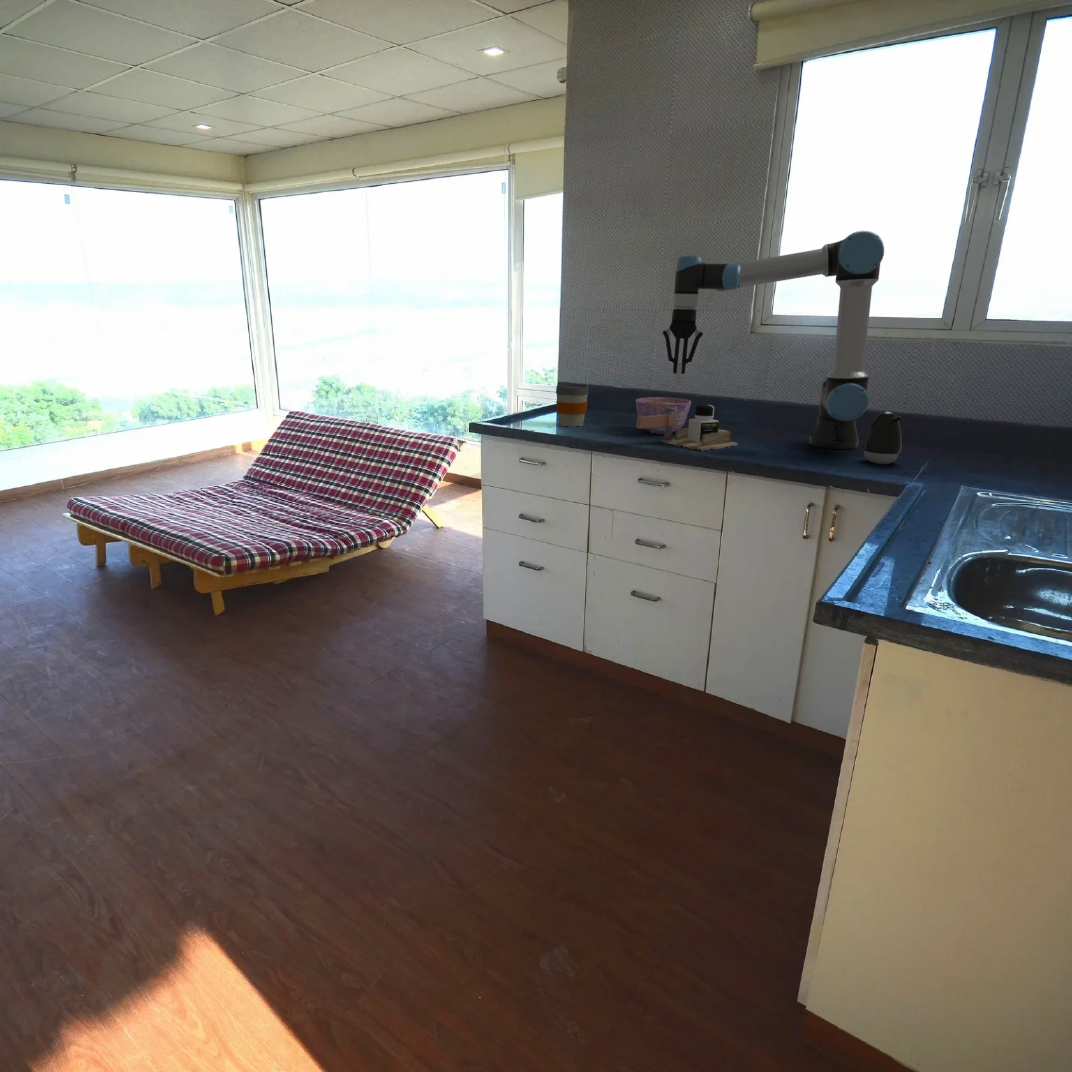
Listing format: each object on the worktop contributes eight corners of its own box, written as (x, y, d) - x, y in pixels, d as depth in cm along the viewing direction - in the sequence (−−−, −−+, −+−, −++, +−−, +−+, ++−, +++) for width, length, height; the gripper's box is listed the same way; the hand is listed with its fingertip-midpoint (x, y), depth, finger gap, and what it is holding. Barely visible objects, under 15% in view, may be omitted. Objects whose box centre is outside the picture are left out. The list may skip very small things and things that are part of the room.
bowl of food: (690, 438, 243) (693, 404, 239) (633, 436, 246) (634, 403, 242) (687, 428, 261) (690, 397, 258) (634, 427, 264) (636, 396, 261)
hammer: (640, 443, 226) (642, 411, 222) (634, 442, 228) (635, 410, 225) (674, 439, 234) (676, 408, 230) (668, 437, 236) (670, 407, 233)
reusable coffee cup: (550, 423, 271) (551, 384, 266) (580, 422, 275) (581, 383, 270) (561, 428, 260) (562, 388, 255) (592, 427, 263) (593, 387, 259)
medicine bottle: (699, 443, 228) (702, 406, 224) (687, 439, 234) (689, 404, 230) (717, 442, 230) (720, 405, 226) (704, 438, 236) (707, 403, 233)
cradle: (737, 446, 229) (739, 432, 228) (701, 451, 220) (702, 437, 219) (698, 437, 243) (699, 424, 242) (662, 442, 235) (663, 429, 233)
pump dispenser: (878, 467, 200) (886, 414, 195) (853, 459, 209) (861, 409, 205) (907, 465, 203) (916, 413, 198) (881, 458, 212) (889, 408, 207)
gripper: (704, 309, 222) (697, 383, 229) (663, 307, 223) (657, 381, 231) (706, 309, 215) (698, 386, 222) (664, 307, 216) (657, 384, 224)
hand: (677, 383), depth 227 cm, fingers closed
